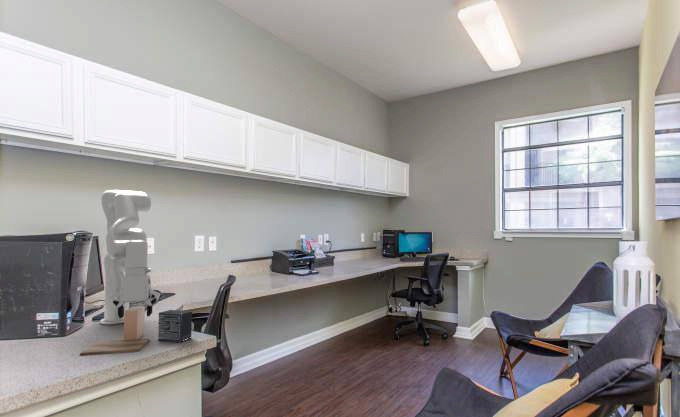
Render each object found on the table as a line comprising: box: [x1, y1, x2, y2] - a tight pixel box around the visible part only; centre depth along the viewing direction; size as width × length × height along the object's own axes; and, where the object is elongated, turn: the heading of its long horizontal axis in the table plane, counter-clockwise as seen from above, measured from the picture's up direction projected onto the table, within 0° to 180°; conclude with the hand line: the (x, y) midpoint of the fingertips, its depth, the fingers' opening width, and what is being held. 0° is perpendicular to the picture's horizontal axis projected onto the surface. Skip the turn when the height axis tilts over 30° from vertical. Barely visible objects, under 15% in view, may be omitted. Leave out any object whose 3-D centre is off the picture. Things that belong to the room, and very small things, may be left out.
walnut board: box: [79, 338, 150, 356], centre depth 129 cm, size 12×18×1 cm, turn 103°
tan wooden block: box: [123, 305, 146, 340], centre depth 141 cm, size 9×5×11 cm, turn 13°
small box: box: [157, 309, 193, 343], centre depth 139 cm, size 11×6×10 cm, turn 74°
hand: (135, 316), depth 141 cm, fingers open, 9 cm apart
